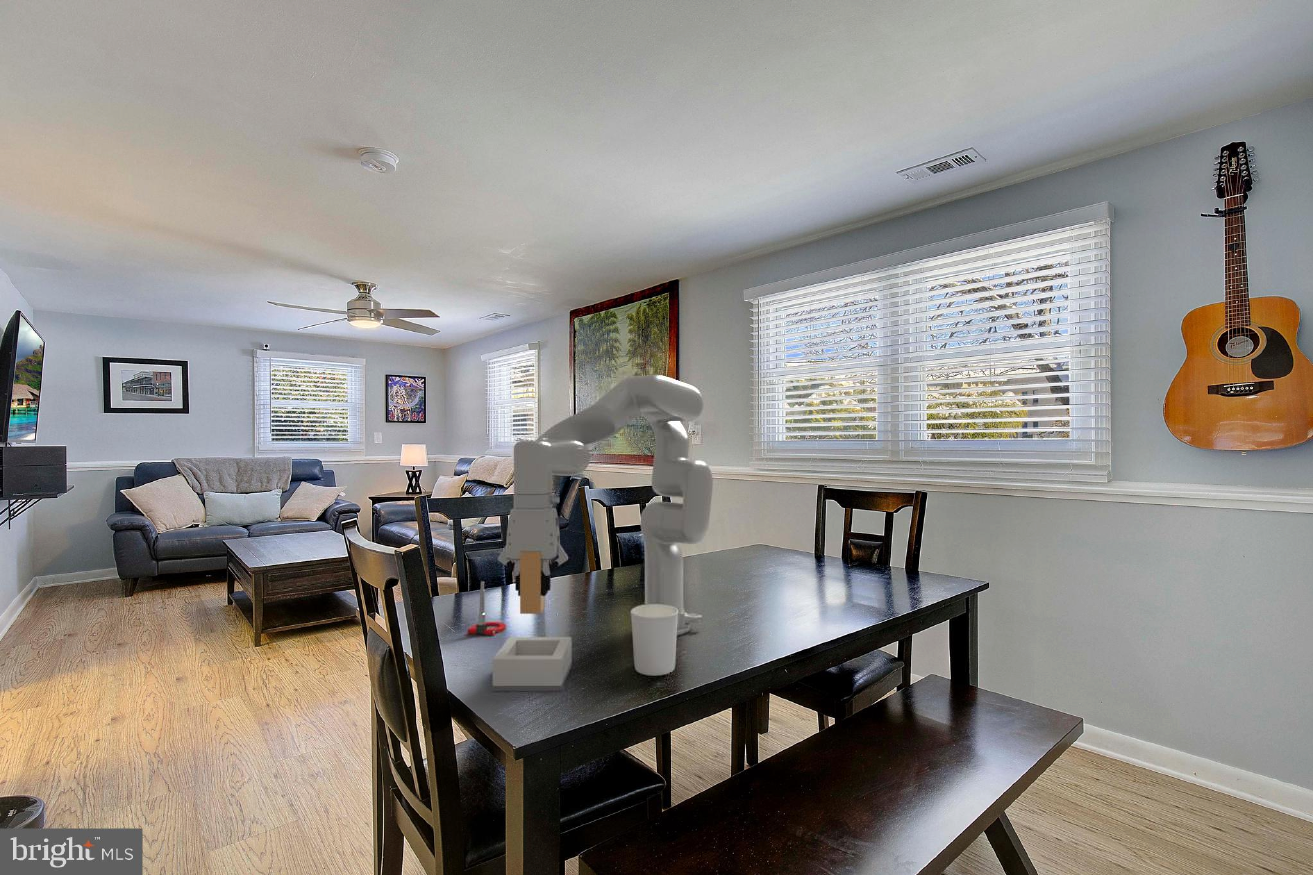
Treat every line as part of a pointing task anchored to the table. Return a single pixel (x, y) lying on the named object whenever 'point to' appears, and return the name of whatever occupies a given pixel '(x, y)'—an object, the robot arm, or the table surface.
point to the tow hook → (482, 625)
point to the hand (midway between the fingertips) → (533, 593)
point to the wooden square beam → (531, 583)
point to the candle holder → (654, 638)
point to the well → (532, 664)
